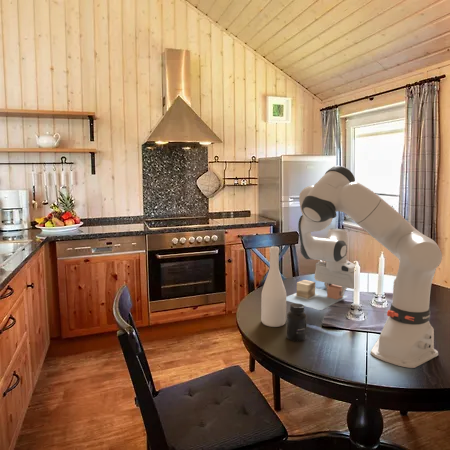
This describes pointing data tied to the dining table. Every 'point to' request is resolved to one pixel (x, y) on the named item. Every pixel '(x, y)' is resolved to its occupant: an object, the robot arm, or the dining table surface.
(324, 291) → the white rectangular board
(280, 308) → the wine bottle
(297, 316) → the supplement bottle
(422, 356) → the robot arm
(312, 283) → the maple block
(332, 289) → the terracotta cube
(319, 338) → the dining table surface
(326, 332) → the dining table surface
